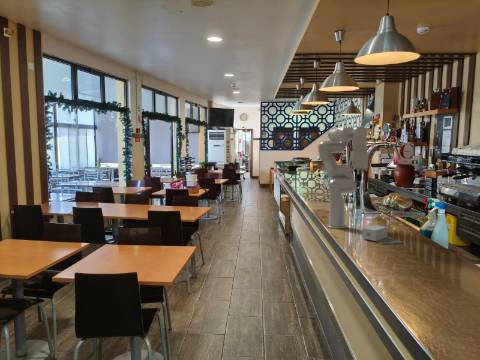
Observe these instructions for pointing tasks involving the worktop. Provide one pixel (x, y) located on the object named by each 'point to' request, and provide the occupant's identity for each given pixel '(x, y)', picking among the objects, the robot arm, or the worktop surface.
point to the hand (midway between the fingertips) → (358, 180)
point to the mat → (388, 241)
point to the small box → (375, 232)
